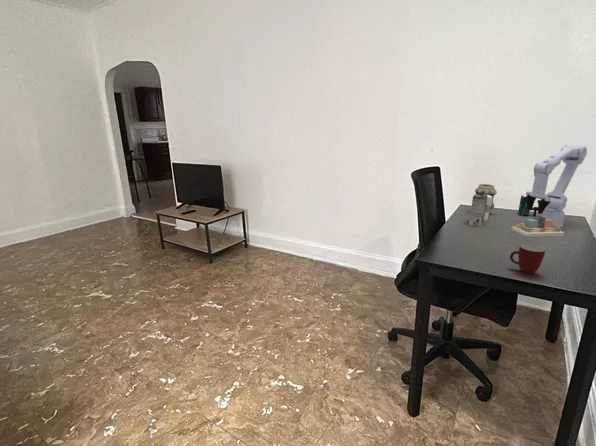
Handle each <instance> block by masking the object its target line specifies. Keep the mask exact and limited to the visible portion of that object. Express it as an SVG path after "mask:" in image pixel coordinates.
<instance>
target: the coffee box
mask: <svg viewBox="0 0 596 446" xmlns="http://www.w3.org/2000/svg"><path fill="white" fill-rule="evenodd" d="M487 196H488V195H481V194H476V193H474V195H473V196H472V201H471V207H470V214H469V221H468V225H469V226H473V227H476V226H477V227H478V226H479V227H482V225H483V224H484V221H485V220H484V216H485V209H486V203H487Z"/></svg>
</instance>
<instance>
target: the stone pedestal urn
mask: <svg viewBox="0 0 596 446" xmlns="http://www.w3.org/2000/svg"><path fill="white" fill-rule="evenodd" d="M474 192H475V193H474V194H481V195H490V196H492V197H493V198H492V204H491V209H490V210H492V209H494V208H495V203H494V197H495V195H496V194H497V190H496V189H495V185H493V184H488V183H479V184H478V186H477V187H476V188H475V190H474ZM491 215H492V214H491V212H490V215H489V216H491Z"/></svg>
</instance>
